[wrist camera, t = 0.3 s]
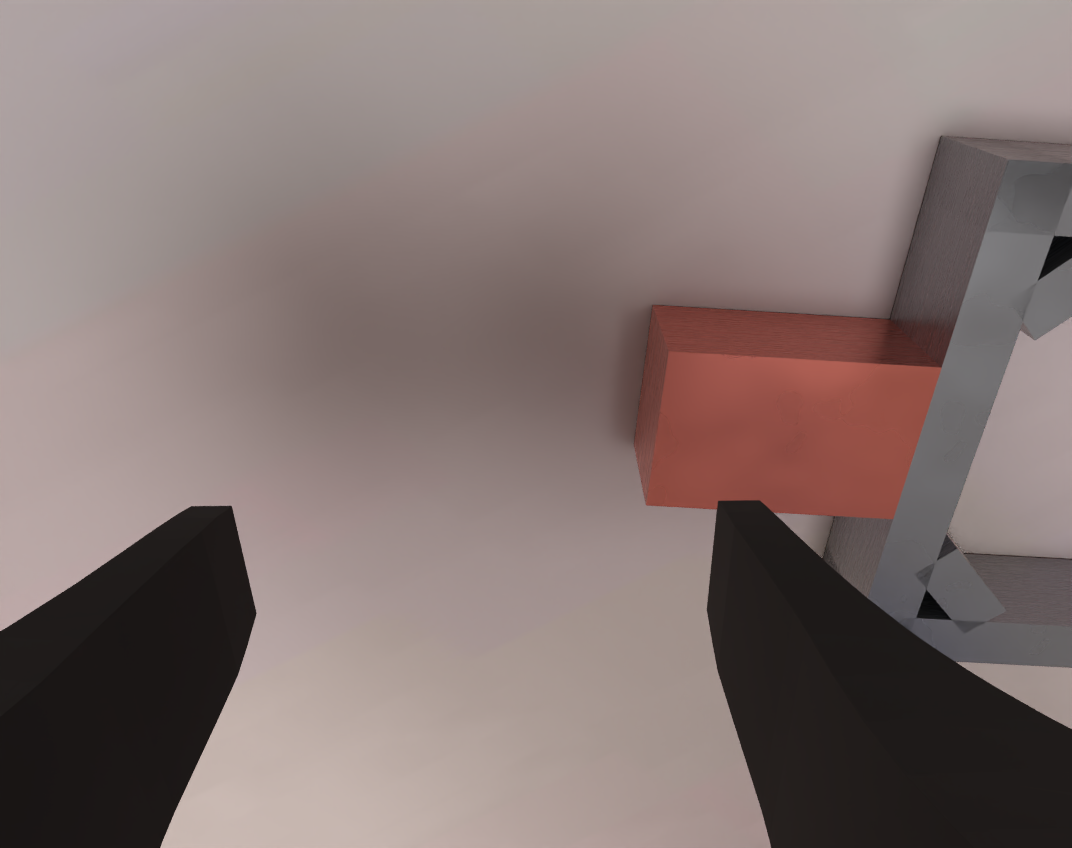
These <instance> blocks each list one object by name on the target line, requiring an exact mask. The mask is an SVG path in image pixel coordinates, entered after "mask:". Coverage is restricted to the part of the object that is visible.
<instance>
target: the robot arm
mask: <svg viewBox="0 0 1072 848" xmlns="http://www.w3.org/2000/svg"><path fill="white" fill-rule="evenodd" d="M707 613H708V619H709V625H710V631H711V637H712V643H713V648H714V653H715V659H716V664H717V669H718V673H719V676H720V680H721V683H722V686H723V689H724V693H725V696H726V699H727V702H728V705H729V709H730V712H731V715H732V718H733V722H734V725H735V728H736V731H737V734H738V737H739V740H740V744H741V747H742V750H743V753H744V756H745V759H746V762H747V766H748V769H749V772H750V775H751V778H752V781H753V785H754V788H755V791H756V794H757V797H758V800H759V803H760V807H761V810H762V814H763V817H764V821H765V825H766V829H767V832H768V836H769V840H770V844H771V848H1072V729H1070V728H1068V727H1066V726H1064V725H1062V724H1061V723H1059V722H1057V721H1055V720H1053V719H1051V718H1049V717H1047V716H1045V715H1044V714H1042V713H1040V712H1038V711H1036V710H1035V709H1033V708H1031V707H1029V706H1028V705H1026V704H1024V703H1022V702H1021V701H1019V700H1017V699H1015V698H1014V697H1012V696H1010V695H1008V694H1007V693H1005V692H1003V691H1001V690H1000V689H998V688H996V687H994V686H993V685H991V684H989V683H988V682H986V681H985V680H983V679H981V678H980V677H978V676H976V675H975V674H973V673H971V672H970V671H968V670H967V669H965V668H964V667H962V666H961V665H959V664H958V663H956V662H955V661H953V660H952V659H950V658H949V657H947V656H946V655H944V654H943V653H941V652H940V651H938V650H937V649H935V648H934V647H932V646H931V645H929V644H928V643H926V642H925V641H923V640H922V639H921V638H919V637H918V636H917V635H915V634H914V633H912V632H911V631H910V630H908V629H907V628H905V627H904V626H903V625H901V624H900V623H899V622H898V621H896V620H895V619H894V618H893V617H891V616H890V615H889V614H887V613H886V612H885V611H884V610H882V609H881V608H880V607H878V606H877V605H876V604H875V603H873V602H872V601H871V600H869V599H868V598H867V597H866V596H865V595H863V594H862V593H861V592H860V591H859V590H857V589H856V588H855V587H854V586H853V585H851V584H850V583H849V582H848V581H847V580H846V579H844V578H843V577H842V576H841V575H840V574H839V573H838V572H836V571H835V570H834V569H833V568H832V567H831V566H830V565H829V564H827V563H826V562H825V561H824V560H823V559H822V558H821V557H820V556H819V555H818V554H816V553H815V552H814V551H813V550H812V549H811V548H810V547H809V546H808V545H807V544H806V543H805V542H804V541H803V540H801V539H800V538H799V537H798V536H797V535H796V534H795V533H794V532H793V531H792V530H791V529H790V528H789V527H788V526H787V525H786V524H785V523H784V522H783V521H781V520H780V519H779V518H778V517H777V516H776V515H775V514H774V513H773V512H772V511H771V510H770V509H769V508H768V507H767V506H766V505H765V504H763V503H762V502H761V501H760V500H733V501H718V506H717V515H716V525H715V535H714V545H713V555H712V564H711V574H710V584H709V594H708V604H707ZM255 617H256V609H255V605H254V601H253V596H252V592H251V588H250V583H249V579H248V575H247V570H246V566H245V562H244V557H243V553H242V549H241V544H240V540H239V536H238V531H237V527H236V523H235V518H234V514H233V510H232V506H191V507H189V508H188V509H186V510H184V511H182V512H181V513H179V514H177V515H176V516H174V517H173V518H171V519H170V520H168V521H167V522H165V523H164V524H162V525H161V526H159V527H158V528H156V529H155V530H153V531H152V532H150V533H149V534H147V535H146V536H144V537H143V538H142V539H140V540H139V541H137V542H136V543H134V544H133V545H132V546H130V547H129V548H127V549H126V550H124V551H123V552H121V553H120V554H119V555H117V556H116V557H114V558H113V559H111V560H110V561H108V562H107V563H105V564H104V565H102V566H101V567H100V568H98V569H97V570H95V571H94V572H92V573H91V574H89V575H88V576H86V577H85V578H84V579H82V580H81V581H79V582H78V583H76V584H75V585H73V586H72V587H70V588H68V589H67V590H65V591H64V592H62V593H61V594H59V595H57V596H56V597H54V598H53V599H51V600H50V601H48V602H46V603H45V604H43V605H42V606H40V607H39V608H37V609H35V610H34V611H32V612H31V613H29V614H28V615H26V616H24V617H23V618H21V619H20V620H18V621H17V622H15V623H13V624H12V625H10V626H9V627H7V628H5V629H4V630H2V631H0V848H160V846H161V844H162V841H163V839H164V836H165V834H166V832H167V829H168V827H169V824H170V822H171V820H172V817H173V815H174V812H175V810H176V808H177V806H178V804H179V801H180V799H181V797H182V795H183V793H184V791H185V789H186V786H187V784H188V782H189V780H190V778H191V776H192V774H193V771H194V769H195V767H196V765H197V763H198V761H199V759H200V756H201V754H202V752H203V750H204V748H205V746H206V744H207V741H208V739H209V737H210V735H211V733H212V731H213V729H214V727H215V724H216V722H217V720H218V718H219V716H220V713H221V711H222V709H223V707H224V705H225V702H226V700H227V698H228V696H229V694H230V692H231V689H232V687H233V685H234V682H235V680H236V678H237V676H238V673H239V670H240V667H241V664H242V661H243V658H244V654H245V651H246V648H247V645H248V641H249V638H250V634H251V631H252V627H253V624H254V620H255Z"/></svg>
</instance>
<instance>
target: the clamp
mask: <svg viewBox="0 0 1072 848" xmlns="http://www.w3.org/2000/svg"><path fill="white" fill-rule="evenodd" d="M1070 317H1072V145H1068V144H1053V143H1038V142H1023V141H1007V140H992V139H977V138H962V137H947V136H941V139H940V143H939V146H938V150H937V153H936V157H935V160H934V164H933V168H932V171H931V175H930V178H929V182H928V185H927V189H926V193H925V196H924V200H923V203H922V207H921V210H920V214H919V218H918V221H917V225H916V228H915V232H914V236H913V239H912V243H911V246H910V250H909V253H908V257H907V261H906V264H905V268H904V271H903V275H902V278H901V282H900V286H899V289H898V293H897V296H896V300H895V303H894V307H893V311H892V314H891V318H890V320H889V319H873V318H856V317H840V316H824V315H808V314H791V313H775V312H759V311H742V310H726V309H710V308H693V307H677V306H661V305H653V306H652V313H651V321H650V328H649V335H648V343H647V350H646V358H645V365H644V373H643V380H642V388H641V395H640V403H639V410H638V418H637V425H636V432H635V440H634V448H635V453H636V457H637V462H638V467H639V472H640V477H641V482H642V487H643V492H644V497H645V502H646V505H649V506H667V507H685V508H703V509H717V506H718V501H733V500H760V501H761V502H762V503H763V504H765V505H766V506H767V507H768V508H769V509H770V510H771V511H772V512H774V513H791V514H809V515H827V516H835V518H834V522H833V525H832V529H831V532H830V536H829V540H828V543H827V547H826V550H825V554H824V557H823V560H824V561H825V562H826V563H827V564H829V565H830V566H831V567H832V568H833V569H834V570H835V571H836V572H838V573H839V574H840V575H841V576H842V577H843V578H844V579H846V580H847V581H848V582H849V583H850V584H851V585H853V586H854V587H855V588H856V589H857V590H859V591H860V592H861V593H862V594H863V595H865V596H866V597H867V598H868V599H869V600H871V601H872V602H873V603H875V604H876V605H877V606H878V607H880V608H881V609H882V610H884V611H885V612H886V613H887V614H889V615H890V616H891V617H893V618H894V619H895V620H896V621H898V622H899V623H900V624H901V625H903V626H904V627H905V628H907V629H908V630H910V631H911V632H912V633H914V634H915V635H917V636H918V637H919V638H921V639H922V640H923V641H925V642H926V643H928V644H929V645H931V646H932V647H934V648H935V649H937V650H938V651H940V652H941V653H943V654H944V655H946V656H947V657H949V658H950V659H952V660H953V661H955V662H974V663H993V664H1012V665H1031V666H1050V667H1069V668H1072V560H1070V559H1052V558H1034V557H1016V556H998V555H980V554H963V552H962V551H961V550H960V548H959V547H958V546H957V544H956V543H955V542H954V541H953V539H952V538H951V537H950V535H949V534H948V533H947V531H948V528H949V525H950V522H951V520H952V517H953V514H954V511H955V508H956V506H957V503H958V500H959V497H960V495H961V492H962V489H963V486H964V484H965V481H966V478H967V475H968V472H969V470H970V467H971V464H972V461H973V459H974V456H975V453H976V450H977V447H978V445H979V442H980V439H981V436H982V434H983V431H984V428H985V425H986V423H987V420H988V417H989V414H990V411H991V409H992V406H993V403H994V400H995V398H996V395H997V392H998V389H999V387H1000V384H1001V381H1002V378H1003V375H1004V373H1005V370H1006V367H1007V364H1008V362H1009V359H1010V356H1011V353H1012V350H1013V348H1014V345H1015V342H1016V339H1017V337H1018V334H1019V331H1020V330H1021V331H1022V332H1024V333H1025V334H1027V335H1028V336H1030V337H1031V338H1032V339H1034V340H1037V339H1038V338H1040V337H1041V336H1043V335H1044V334H1046V333H1047V332H1049V331H1050V330H1052V329H1053V328H1055V327H1056V326H1058V325H1059V324H1061V323H1063V322H1064V321H1066V320H1067V319H1069V318H1070Z"/></svg>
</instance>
